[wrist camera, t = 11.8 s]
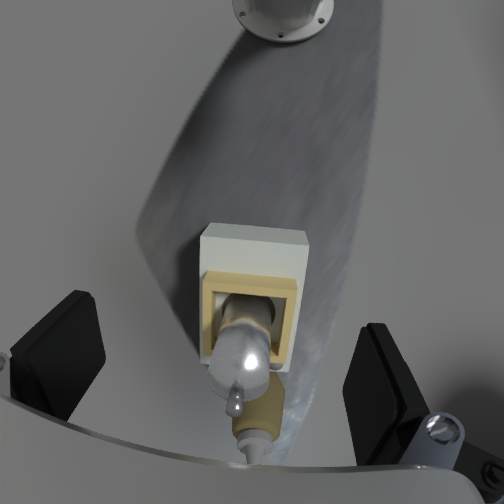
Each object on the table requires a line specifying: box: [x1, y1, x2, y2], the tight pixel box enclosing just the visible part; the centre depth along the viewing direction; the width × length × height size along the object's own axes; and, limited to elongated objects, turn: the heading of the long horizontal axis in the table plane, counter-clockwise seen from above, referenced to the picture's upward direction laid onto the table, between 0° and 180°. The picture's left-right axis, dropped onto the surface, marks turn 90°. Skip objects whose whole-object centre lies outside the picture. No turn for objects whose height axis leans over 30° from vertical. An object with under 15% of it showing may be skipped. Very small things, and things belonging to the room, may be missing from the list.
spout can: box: [207, 294, 271, 417], centre depth 30 cm, size 6×6×14 cm
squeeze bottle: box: [232, 371, 285, 465], centre depth 40 cm, size 8×8×18 cm
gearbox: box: [199, 223, 309, 372], centre depth 39 cm, size 18×12×9 cm, turn 176°
